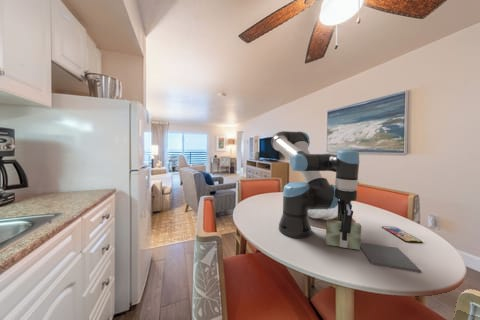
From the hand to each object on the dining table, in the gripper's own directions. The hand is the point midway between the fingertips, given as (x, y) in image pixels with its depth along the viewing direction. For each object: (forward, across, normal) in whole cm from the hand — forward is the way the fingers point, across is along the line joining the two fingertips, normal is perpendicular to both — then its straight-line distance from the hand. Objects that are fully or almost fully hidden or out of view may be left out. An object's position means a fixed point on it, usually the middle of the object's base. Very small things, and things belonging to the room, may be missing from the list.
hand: (342, 245), depth 73 cm
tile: (0, 0, 0) cm, 0 cm away
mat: (+1, -2, -14) cm, 14 cm away
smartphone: (+1, +21, -29) cm, 36 cm away
